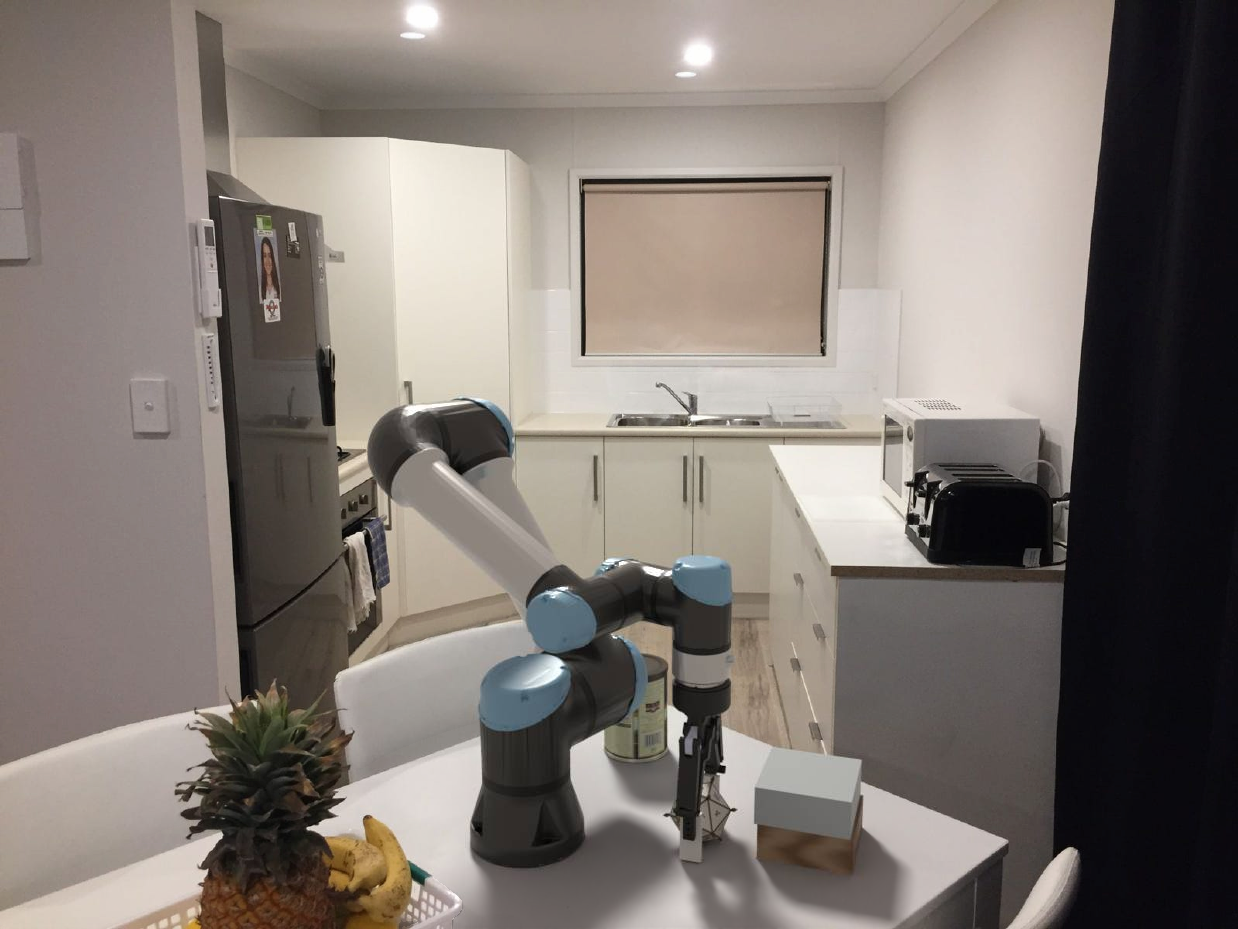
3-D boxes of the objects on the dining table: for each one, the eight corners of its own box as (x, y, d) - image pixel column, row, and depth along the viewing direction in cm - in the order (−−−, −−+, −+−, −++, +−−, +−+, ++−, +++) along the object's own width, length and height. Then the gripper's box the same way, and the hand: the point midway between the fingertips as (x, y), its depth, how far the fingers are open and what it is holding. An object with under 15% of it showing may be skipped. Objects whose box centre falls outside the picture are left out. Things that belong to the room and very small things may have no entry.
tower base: (756, 861, 127) (757, 824, 126) (773, 815, 139) (774, 781, 138) (852, 878, 123) (853, 841, 123) (862, 829, 135) (863, 795, 134)
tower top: (753, 823, 127) (754, 787, 126) (771, 780, 138) (772, 746, 137) (850, 840, 123) (851, 802, 122) (860, 794, 134) (861, 759, 133)
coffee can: (624, 729, 165) (624, 648, 163) (679, 744, 160) (680, 660, 157) (590, 753, 156) (589, 668, 154) (646, 770, 151) (647, 681, 149)
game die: (710, 872, 131) (731, 840, 124) (650, 845, 132) (667, 811, 125) (729, 813, 137) (749, 779, 130) (672, 787, 138) (689, 752, 131)
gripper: (710, 715, 116) (709, 891, 120) (747, 651, 137) (744, 802, 141) (649, 707, 118) (649, 880, 122) (693, 645, 139) (692, 794, 143)
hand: (700, 838), depth 131 cm, fingers open, 9 cm apart
